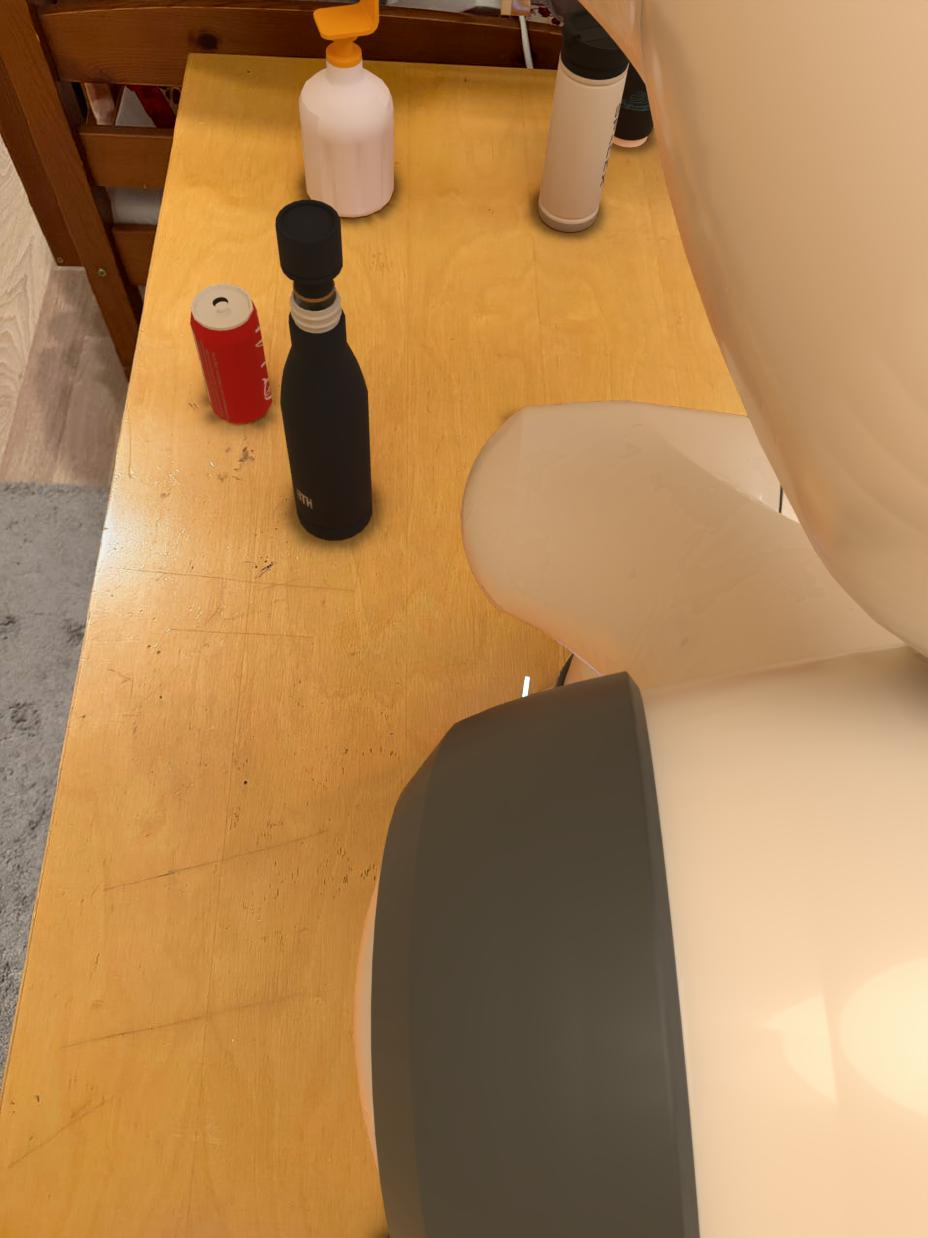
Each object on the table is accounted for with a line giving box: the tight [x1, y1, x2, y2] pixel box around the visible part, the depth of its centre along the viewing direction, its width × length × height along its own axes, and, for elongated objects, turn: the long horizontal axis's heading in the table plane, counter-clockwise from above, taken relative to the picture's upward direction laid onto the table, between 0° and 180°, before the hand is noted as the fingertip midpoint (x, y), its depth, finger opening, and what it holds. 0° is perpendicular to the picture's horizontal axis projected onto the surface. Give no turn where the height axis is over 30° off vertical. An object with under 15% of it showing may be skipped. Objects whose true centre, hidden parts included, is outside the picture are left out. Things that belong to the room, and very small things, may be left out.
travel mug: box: [537, 9, 629, 233], centre depth 96 cm, size 6×7×20 cm
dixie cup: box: [612, 60, 654, 148], centre depth 107 cm, size 8×8×11 cm
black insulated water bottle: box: [274, 199, 373, 542], centre depth 73 cm, size 6×6×30 cm
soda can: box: [189, 283, 273, 425], centre depth 86 cm, size 6×6×12 cm
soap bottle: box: [298, 0, 395, 219], centre depth 94 cm, size 9×9×25 cm
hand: (607, 12), depth 51 cm, fingers open, 8 cm apart
